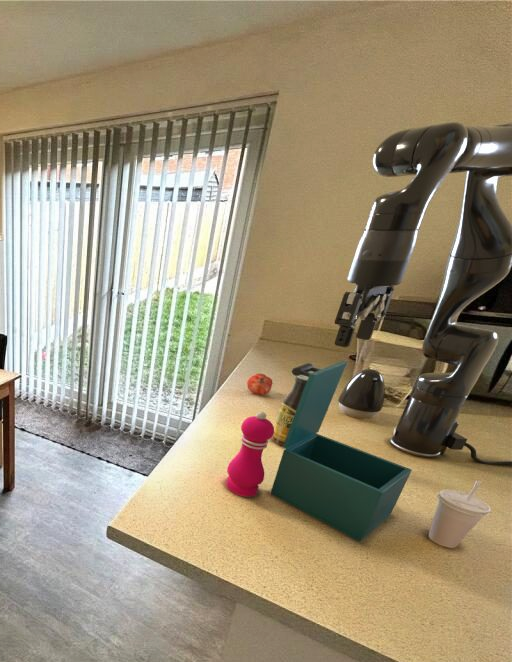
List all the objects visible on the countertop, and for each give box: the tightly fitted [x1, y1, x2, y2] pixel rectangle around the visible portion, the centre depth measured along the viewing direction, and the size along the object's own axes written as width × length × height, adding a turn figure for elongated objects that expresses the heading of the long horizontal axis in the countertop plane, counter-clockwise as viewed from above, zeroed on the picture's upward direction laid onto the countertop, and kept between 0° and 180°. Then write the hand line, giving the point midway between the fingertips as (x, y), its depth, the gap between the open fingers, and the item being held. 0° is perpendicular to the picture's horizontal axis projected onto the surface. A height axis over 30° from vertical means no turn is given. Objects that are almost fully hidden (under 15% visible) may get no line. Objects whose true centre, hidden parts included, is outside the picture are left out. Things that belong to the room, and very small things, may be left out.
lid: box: [282, 360, 348, 450], centre depth 85 cm, size 17×14×6 cm
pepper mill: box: [225, 411, 274, 498], centre depth 87 cm, size 7×7×20 cm
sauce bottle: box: [270, 375, 309, 447], centre depth 104 cm, size 6×6×20 cm
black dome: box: [337, 368, 386, 420], centre depth 119 cm, size 10×10×15 cm
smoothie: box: [428, 480, 491, 549], centre depth 73 cm, size 6×6×14 cm
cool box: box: [270, 432, 413, 542], centre depth 83 cm, size 17×14×12 cm
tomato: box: [246, 372, 273, 396], centre depth 137 cm, size 7×7×10 cm
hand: (352, 342), depth 77 cm, fingers open, 8 cm apart
